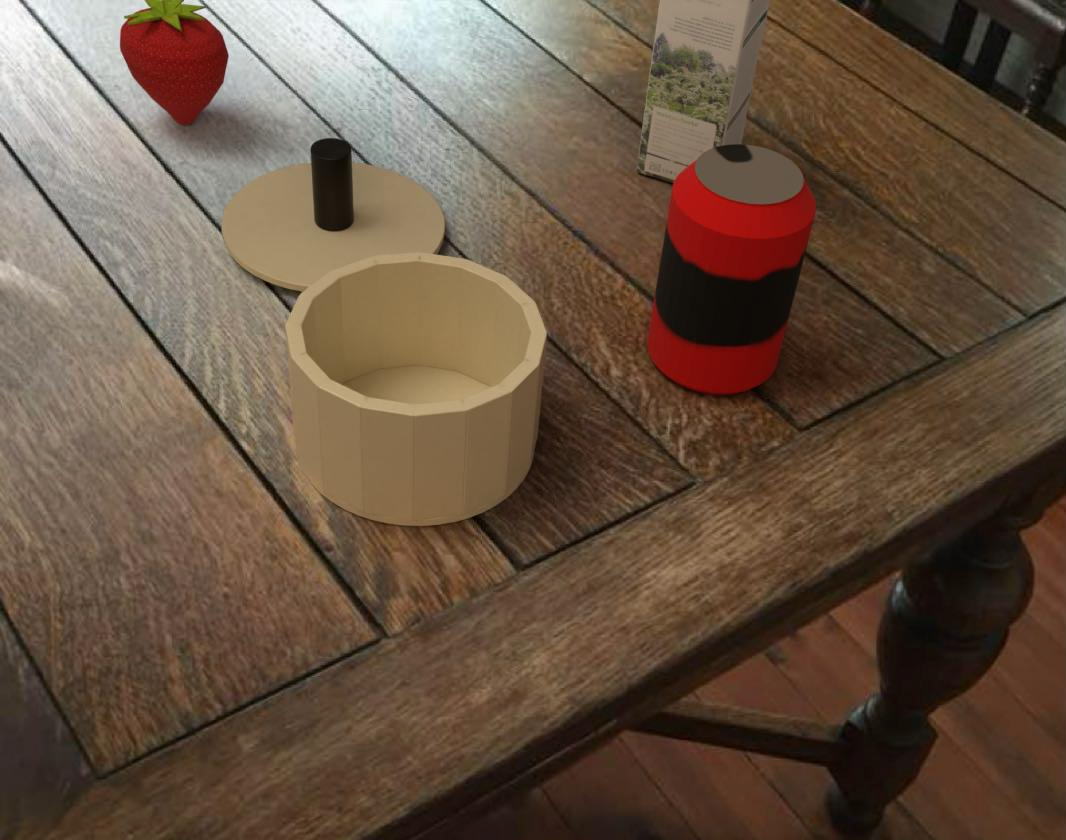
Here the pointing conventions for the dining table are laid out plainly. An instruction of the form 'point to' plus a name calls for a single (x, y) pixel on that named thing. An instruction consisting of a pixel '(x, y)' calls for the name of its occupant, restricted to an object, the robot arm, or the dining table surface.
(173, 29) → the strawberry
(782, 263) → the soda can
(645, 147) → the syrup box
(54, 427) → the dining table surface
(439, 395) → the pot
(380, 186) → the lid
